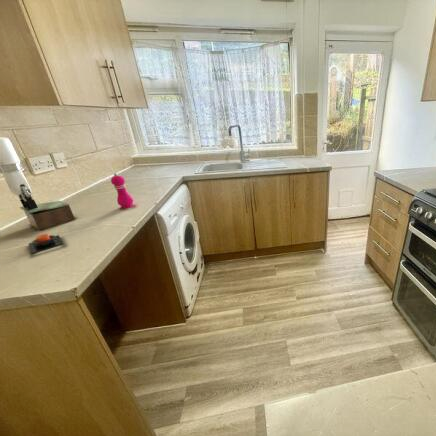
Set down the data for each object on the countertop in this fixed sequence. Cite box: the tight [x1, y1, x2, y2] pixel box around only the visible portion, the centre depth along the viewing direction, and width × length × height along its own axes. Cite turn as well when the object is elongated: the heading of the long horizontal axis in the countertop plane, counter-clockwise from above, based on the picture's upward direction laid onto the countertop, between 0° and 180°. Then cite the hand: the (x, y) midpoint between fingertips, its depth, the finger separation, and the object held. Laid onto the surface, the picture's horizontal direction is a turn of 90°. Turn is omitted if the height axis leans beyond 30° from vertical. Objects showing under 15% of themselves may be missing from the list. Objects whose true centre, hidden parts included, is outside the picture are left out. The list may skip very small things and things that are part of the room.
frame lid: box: [19, 198, 70, 213], centre depth 114 cm, size 14×11×6 cm
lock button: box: [35, 233, 50, 242], centre depth 94 cm, size 4×4×2 cm
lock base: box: [28, 234, 64, 255], centre depth 95 cm, size 11×9×4 cm
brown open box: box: [23, 205, 76, 232], centre depth 117 cm, size 13×11×8 cm
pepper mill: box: [110, 172, 135, 210], centre depth 130 cm, size 7×7×20 cm
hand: (30, 207), depth 111 cm, fingers closed on frame lid, 5 cm apart
